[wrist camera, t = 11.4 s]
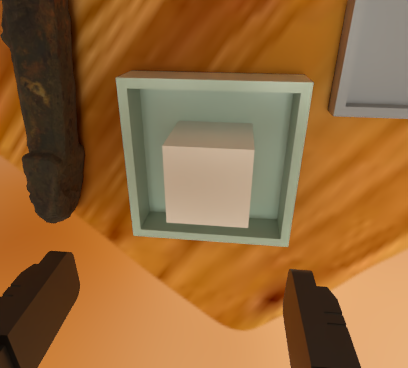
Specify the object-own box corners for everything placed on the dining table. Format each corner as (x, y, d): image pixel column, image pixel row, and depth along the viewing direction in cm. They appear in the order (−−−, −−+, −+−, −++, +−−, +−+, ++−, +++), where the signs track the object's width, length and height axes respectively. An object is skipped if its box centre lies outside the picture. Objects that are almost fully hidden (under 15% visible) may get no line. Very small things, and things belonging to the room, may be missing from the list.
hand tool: (12, -84, 18) (-55, -113, 14) (79, -75, 18) (31, -102, 14) (46, 198, 27) (10, 230, 23) (91, 206, 27) (64, 240, 23)
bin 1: (144, 213, 26) (133, 235, 24) (131, 70, 21) (115, 77, 19) (283, 223, 25) (288, 246, 23) (304, 74, 20) (313, 82, 18)
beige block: (180, 185, 24) (166, 222, 20) (178, 120, 22) (162, 145, 18) (247, 189, 24) (248, 228, 19) (252, 123, 21) (254, 149, 17)
